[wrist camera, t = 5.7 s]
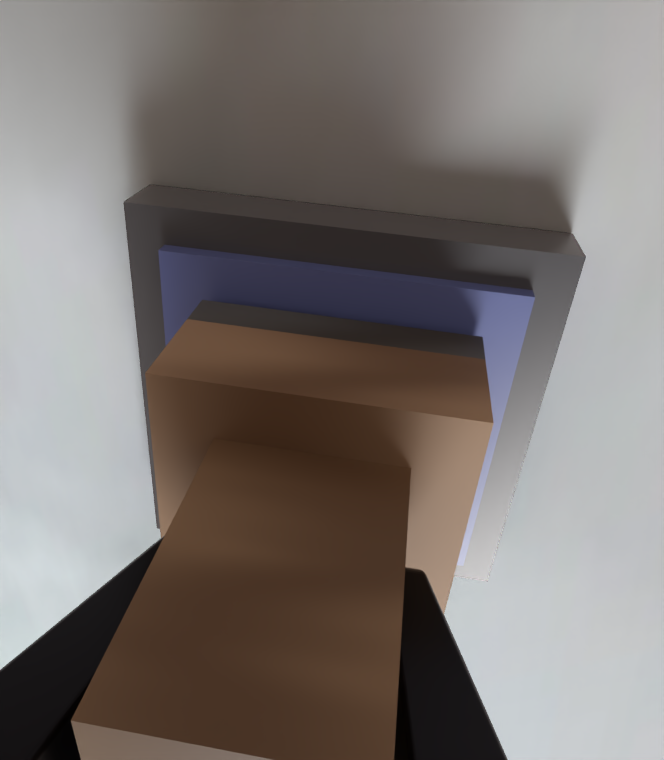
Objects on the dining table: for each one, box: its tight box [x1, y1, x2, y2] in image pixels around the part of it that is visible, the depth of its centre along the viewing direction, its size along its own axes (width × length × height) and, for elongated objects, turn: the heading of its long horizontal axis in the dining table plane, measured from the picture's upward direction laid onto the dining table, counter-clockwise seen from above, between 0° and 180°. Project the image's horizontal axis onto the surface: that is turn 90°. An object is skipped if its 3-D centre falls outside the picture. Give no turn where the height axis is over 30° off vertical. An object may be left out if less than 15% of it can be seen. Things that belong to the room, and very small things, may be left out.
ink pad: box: [124, 185, 586, 581], centre depth 13 cm, size 8×8×2 cm
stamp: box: [71, 300, 494, 760], centre depth 9 cm, size 5×5×7 cm
